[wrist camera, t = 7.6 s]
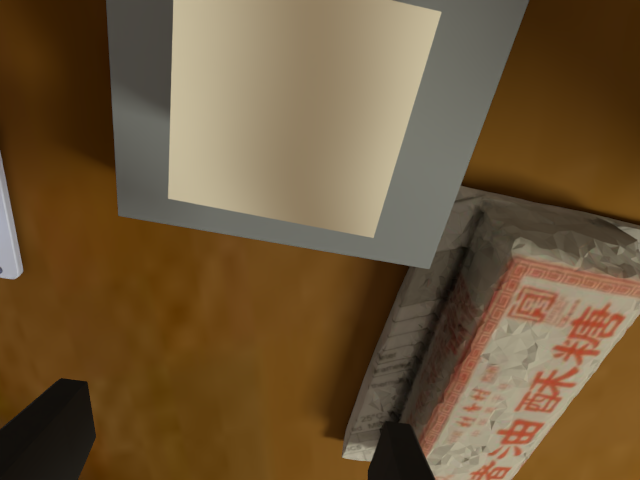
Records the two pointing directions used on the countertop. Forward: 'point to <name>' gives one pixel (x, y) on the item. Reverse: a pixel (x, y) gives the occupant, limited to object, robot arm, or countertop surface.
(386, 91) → the birch block
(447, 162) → the gray plinth
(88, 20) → the countertop surface
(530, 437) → the packaged product
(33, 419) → the robot arm
